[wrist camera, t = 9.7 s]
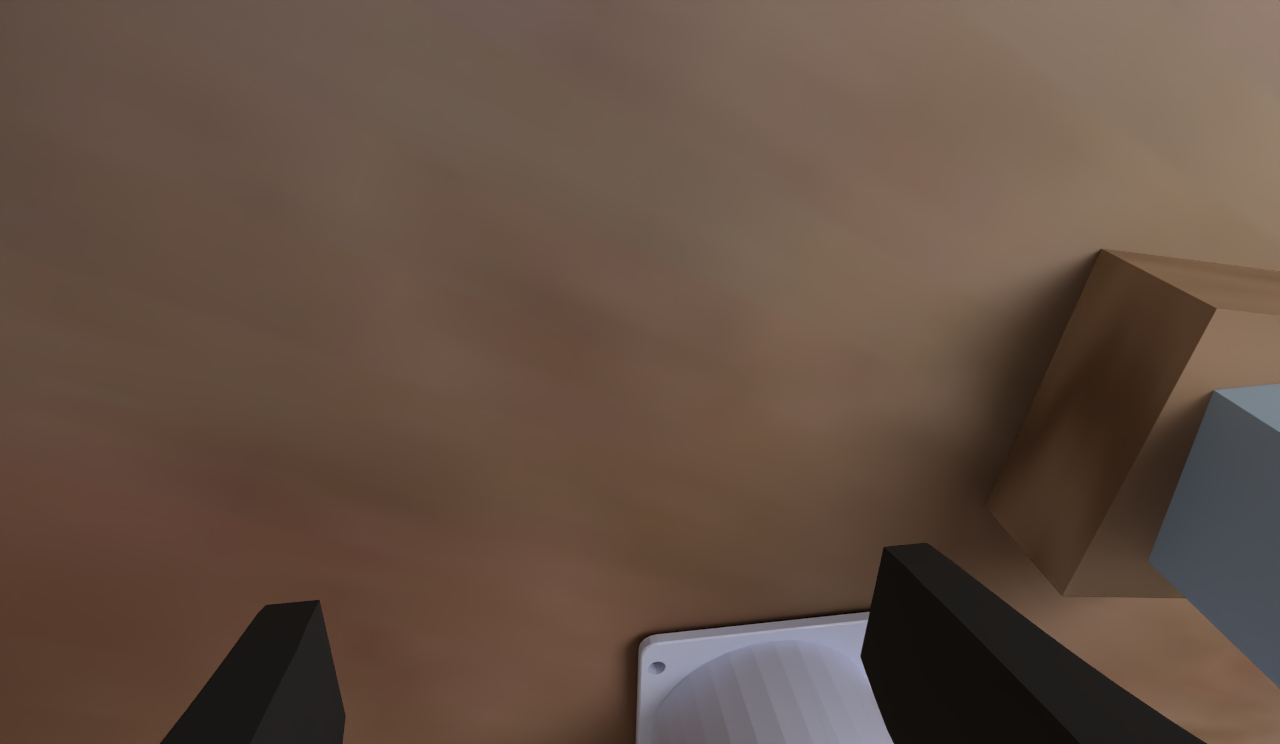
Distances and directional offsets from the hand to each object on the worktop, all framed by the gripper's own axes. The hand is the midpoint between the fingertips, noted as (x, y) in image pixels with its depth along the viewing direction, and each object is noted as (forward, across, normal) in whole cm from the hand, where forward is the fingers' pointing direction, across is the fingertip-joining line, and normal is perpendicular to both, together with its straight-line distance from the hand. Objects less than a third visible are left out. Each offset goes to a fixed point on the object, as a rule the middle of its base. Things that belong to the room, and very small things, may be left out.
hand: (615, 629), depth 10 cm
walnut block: (+10, -17, +3) cm, 20 cm away
